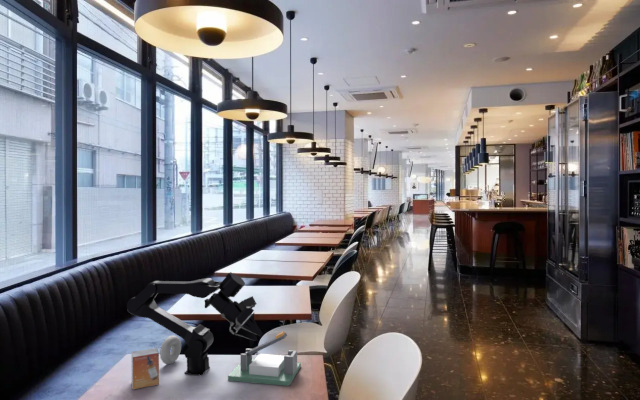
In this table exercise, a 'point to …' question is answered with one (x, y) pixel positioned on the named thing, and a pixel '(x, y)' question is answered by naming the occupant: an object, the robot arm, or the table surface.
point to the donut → (175, 351)
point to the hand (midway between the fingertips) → (259, 337)
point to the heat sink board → (261, 378)
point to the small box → (145, 368)
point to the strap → (267, 343)
